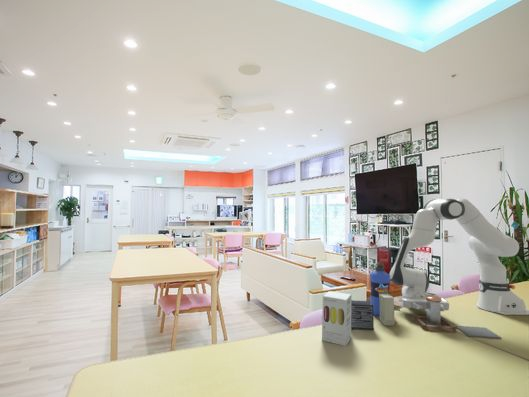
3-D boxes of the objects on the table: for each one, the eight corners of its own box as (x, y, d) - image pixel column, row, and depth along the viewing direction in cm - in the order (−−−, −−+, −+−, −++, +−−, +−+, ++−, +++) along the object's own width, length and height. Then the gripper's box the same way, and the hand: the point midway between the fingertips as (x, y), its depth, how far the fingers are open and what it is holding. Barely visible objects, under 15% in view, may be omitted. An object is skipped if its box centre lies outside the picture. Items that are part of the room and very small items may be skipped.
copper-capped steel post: (438, 323, 131) (437, 295, 132) (444, 328, 125) (444, 299, 126) (423, 322, 132) (422, 295, 133) (428, 327, 126) (428, 299, 127)
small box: (370, 324, 128) (370, 300, 129) (374, 330, 122) (374, 305, 122) (345, 323, 129) (345, 299, 130) (348, 329, 123) (348, 303, 123)
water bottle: (393, 317, 138) (393, 264, 139) (373, 317, 138) (373, 263, 139) (385, 311, 147) (385, 260, 148) (367, 310, 147) (367, 260, 148)
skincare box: (394, 326, 127) (394, 297, 128) (384, 325, 127) (384, 297, 128) (388, 320, 134) (388, 293, 134) (379, 320, 134) (379, 293, 134)
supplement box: (321, 340, 111) (321, 295, 112) (327, 332, 119) (328, 290, 120) (346, 346, 107) (346, 299, 108) (351, 337, 115) (351, 293, 116)
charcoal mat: (485, 329, 126) (485, 327, 126) (501, 338, 116) (501, 337, 116) (455, 326, 127) (455, 325, 127) (468, 336, 118) (468, 335, 118)
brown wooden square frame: (442, 321, 134) (442, 317, 134) (457, 332, 121) (457, 328, 121) (412, 319, 136) (412, 315, 136) (423, 330, 123) (423, 325, 123)
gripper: (397, 292, 147) (406, 300, 133) (440, 294, 144) (455, 303, 130) (397, 304, 146) (406, 314, 133) (441, 307, 143) (455, 317, 130)
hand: (431, 308), depth 131 cm, fingers open, 8 cm apart
